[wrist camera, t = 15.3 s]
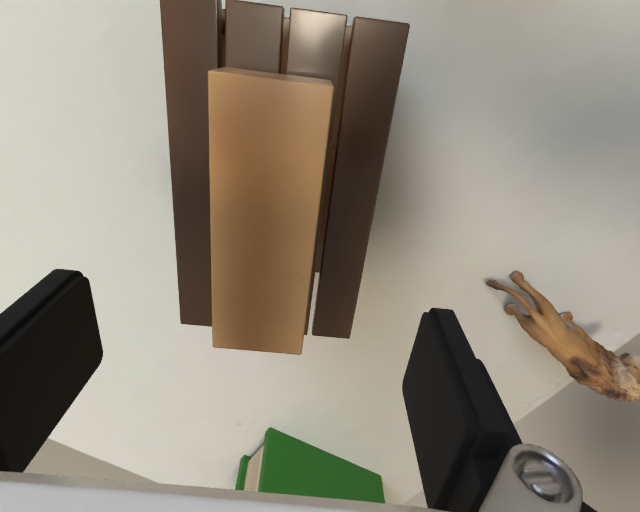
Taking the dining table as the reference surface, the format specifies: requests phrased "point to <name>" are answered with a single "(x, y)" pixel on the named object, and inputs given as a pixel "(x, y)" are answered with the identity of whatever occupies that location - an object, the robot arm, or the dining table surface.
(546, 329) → the lion figurine
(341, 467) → the hardback book
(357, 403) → the dining table surface
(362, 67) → the rack
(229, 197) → the tan rectangular block
